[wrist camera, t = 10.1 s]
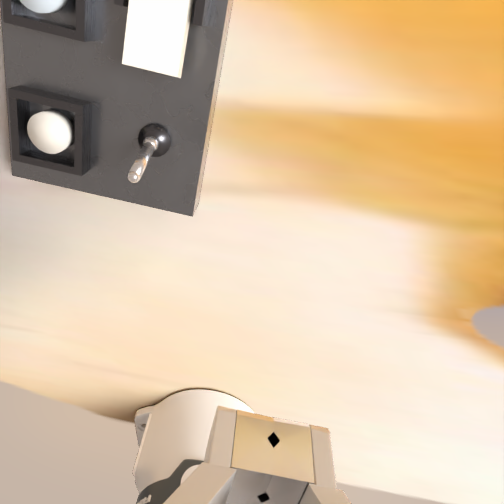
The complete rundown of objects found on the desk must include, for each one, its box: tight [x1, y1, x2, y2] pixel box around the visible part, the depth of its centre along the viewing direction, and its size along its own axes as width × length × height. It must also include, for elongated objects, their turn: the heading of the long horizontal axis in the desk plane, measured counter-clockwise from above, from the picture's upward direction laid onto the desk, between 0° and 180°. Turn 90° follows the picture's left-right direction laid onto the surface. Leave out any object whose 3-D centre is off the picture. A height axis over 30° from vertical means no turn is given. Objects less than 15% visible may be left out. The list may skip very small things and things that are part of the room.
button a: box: [27, 110, 75, 154], centre depth 33 cm, size 3×3×1 cm
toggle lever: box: [128, 136, 159, 183], centre depth 31 cm, size 1×1×5 cm
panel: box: [0, 0, 233, 216], centre depth 31 cm, size 22×16×6 cm
